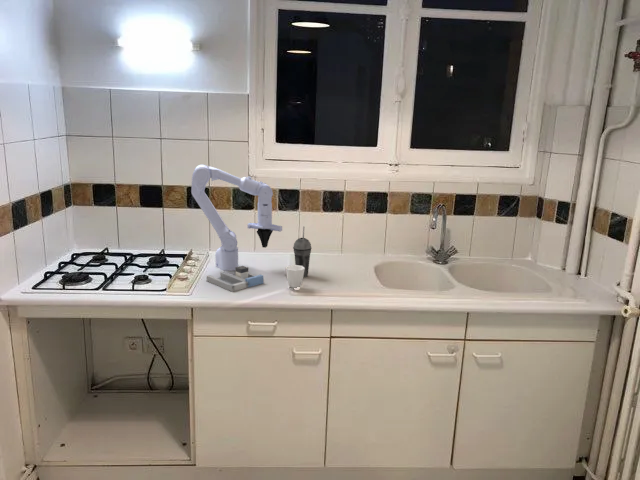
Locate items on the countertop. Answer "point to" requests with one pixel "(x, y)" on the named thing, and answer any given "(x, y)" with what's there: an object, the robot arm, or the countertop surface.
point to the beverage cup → (302, 253)
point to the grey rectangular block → (242, 272)
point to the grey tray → (235, 281)
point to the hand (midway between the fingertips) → (264, 246)
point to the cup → (295, 275)
